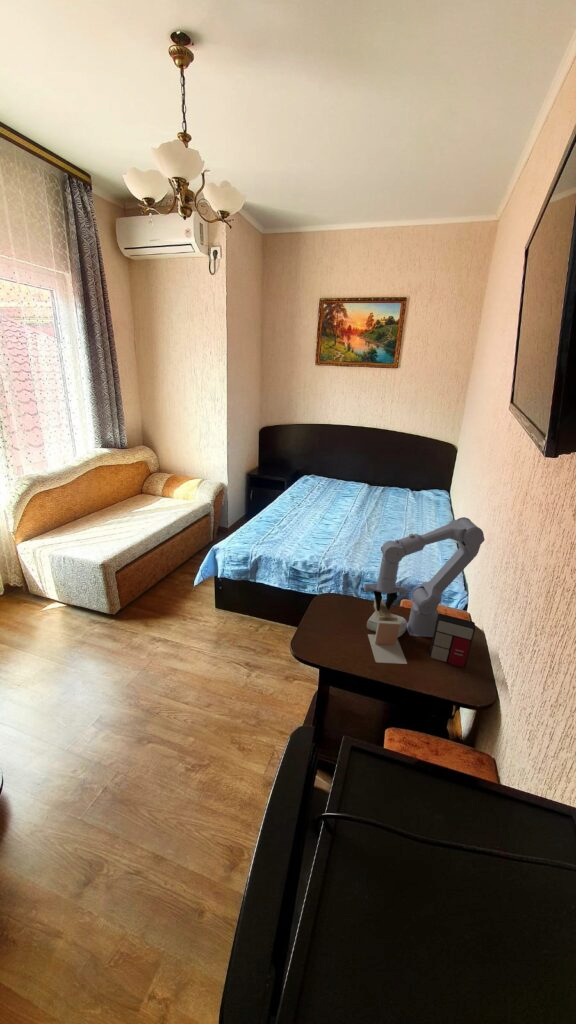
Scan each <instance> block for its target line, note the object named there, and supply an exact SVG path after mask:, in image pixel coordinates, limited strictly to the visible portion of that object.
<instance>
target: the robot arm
mask: <svg viewBox="0 0 576 1024" xmlns="http://www.w3.org/2000/svg"><path fill="white" fill-rule="evenodd" d="M484 535H485V534H484V531H483V529H482V528H481V527H478V526H477V525H476V524H475V523H474V522H473V521H472V520H471V519H470V518H468V517H465V516H464V517H459V518H457V519H452V520H451V521H449V523H447V524H445V525H442V526H440V527H438V528H435V529H433V530H431V531H428V532H426V533H424V534H422V535H421V534H419V533H409V534H408V536H405V537H403V538H399V539H395V540H386V541H385V542H384V543H383V545H382V546H381V547H380V550H381V552H382V553H381V554H382V556H381V562H380V568H379V574H378V581H377V582H376V583H375V582H374V583H367V584H364V585H363V591H364V592H365V593H368V592H373V595H374V599H376V609H377V611H379V610H380V604H381V600H382V599H383V595H382V593H383V594H386V600H385V605H386V607H387V609H388V611H389V612H390V608H391V606H392V605H393V603H395V601H397V599H398V594H403V595H408V590H409V589H408V588H407V586H404V585H403V586H402V585H397V584H396V582H397V577H398V572H399V571H398V570H399V563H400V562H401V561H402V559H403V558H405V557H406V556H409V555H412V554H415V553H418V552H420V551H421V552H422V551H423V550H424V548H425V547H426V546H427V545H430V544H435V543H437V542H441V541H444V540H448V539H450V540H453V541H456V542H458V546H459V548H458V549H457V550H456V551H455V552H454V553H453V554H452V556H451V557H450V558H448V560H447V561H446V562H445V563H444V564H443V565H442V567H441V568H440V569H439V570H438V571H437V572H436V573H435V574H434V576H433V577H432V578H431V579H430V580H429V581H423V582H422V583H421V584H420V585H418V586H416V587H414V588H413V589H412V591H411V594H410V596H411V599H412V603H411V607H410V612H409V613H410V614H409V617H408V621H407V626H406V631H407V633H408V634H409V636H411V637H425V638H426V637H429V638H433V635H434V630H435V626H436V621H437V616H438V614H439V611H438V606H439V605H440V604H441V602H442V595H443V592H444V591H445V590H446V589H447V588H448V587H449V586H450V585H451V584H452V583H453V582H454V581H455V579H456V578H457V577H458V576H459V575H460V574H461V573H462V572H463V571H464V570H465V568H466V567H468V565H469V564H470V563H471V562H472V561H473V560H474V559H475V558H476V557H477V555H478V554H479V551H480V547H481V545H482V544H483V543H484V541H485V536H484Z"/></svg>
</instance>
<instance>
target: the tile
mask: <svg viewBox="0 0 576 1024" xmlns="http://www.w3.org/2000/svg"><path fill="white" fill-rule="evenodd" d="M399 628H400V622H396V621H378V625H377V630H376V632H375V634H374V635H375V639H374V643H375V644H385V645H396V641H397V639H398V638H399V637H398V632H399ZM397 637H398V638H397Z"/></svg>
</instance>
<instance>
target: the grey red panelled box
mask: <svg viewBox="0 0 576 1024" xmlns="http://www.w3.org/2000/svg"><path fill="white" fill-rule="evenodd" d="M438 613H439V612H438ZM475 632H476V622H474V621H471V620H468V619H464V618H459V617H456V616H450V615H447V614H443V613H439V614H438V616H437V621H436V626H435V630H434V635H433V637H432V639H431V645H430V649H429V655H428V656H429V657H430V658H431V659H435V660H438V661H441V662H445V663H447V662H448V664H452V665H453V666H458V667H461V668H466V666H467V661H468V658H469V655H470V650H471V647H472V643H473V639H474V636H475Z"/></svg>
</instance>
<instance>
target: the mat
mask: <svg viewBox="0 0 576 1024" xmlns="http://www.w3.org/2000/svg"><path fill="white" fill-rule="evenodd" d="M375 635H376V634H373V633H372V634H367V637H368V641H369V644H370V648H371V651H372V654H373V658H374V661H375V663H378V664H379V663H380V664H381V663H382V664H397V665H398V664H399V665H401V664H402V665H403V664H404V665H407V664H408V662H407V659H406V657H405V654H404V652H403V649H402V647H401V643H400V642H399V639H398V638H397V641H396V645H385V644H375V643H374V639H375Z"/></svg>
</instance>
